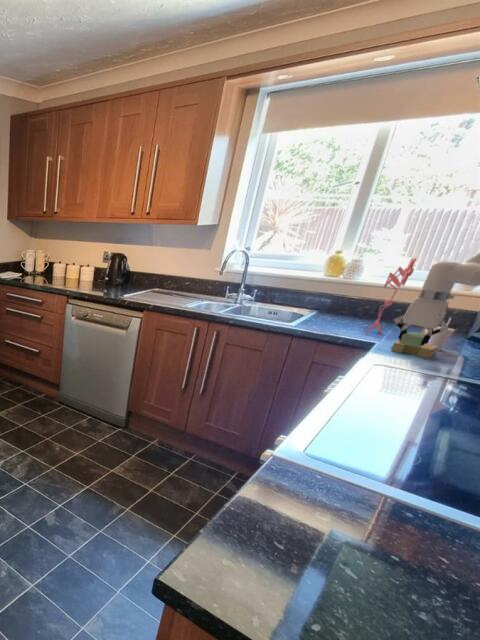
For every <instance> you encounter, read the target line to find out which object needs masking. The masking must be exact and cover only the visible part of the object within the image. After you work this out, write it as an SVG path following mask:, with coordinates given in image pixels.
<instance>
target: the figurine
mask: <svg viewBox="0 0 480 640" xmlns="http://www.w3.org/2000/svg"><path fill="white" fill-rule="evenodd" d="M416 260H417V257H416V258H414V257H412V258H410V260H409V262H408V264H407V266H406V267H404V269H403V268H402V266H399V267H398V268H397V270H396V271H395V272H394V273H392V272H389V274H388V277H387V278H386V281H385V284H384V286H383V288H387V286H388V285H390V286H391V287H392V288H394V292H393V295H392V296H391V298H390V299H386V300H385V301H384V304H383V305H380V307H379V310H378V317H377V319H375V320H374V323H372V324H371V325H370V326H369V327H367V329H366V330H365V332H364V334H362V336H364V335H367V334H368V333H369V332H370V331H372V330H373V329H374V328H375V327H376V329H377V331H378V333H379V335H380V336H381V337H383V332H382V329H383V328H382V324H381V322H380V320H381V317H382V315H383V311H384V309H386V308H387V307H389V306H391V305H393V304H394V301H393V299H394V296H395V295H396V294H397V292H398V288H400V287H401V286H402V287H404V286H405V284H406V283H407V281H408V278H409V277H411V276H412V274H413V273H414V270H415V269H414V265H415V263H416ZM397 273H398V274H397ZM399 276H401V277H402V278H401V279H400V280H399ZM391 282H392V283H393V284H394V285H393V284H392V283H391ZM395 285H396V286H395ZM397 287H398V288H397ZM382 307H383V308H382ZM391 333H393V334H395V335H396V334H398V333H397V332H395V331H394V332H393V331H392V332H391Z"/></svg>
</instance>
